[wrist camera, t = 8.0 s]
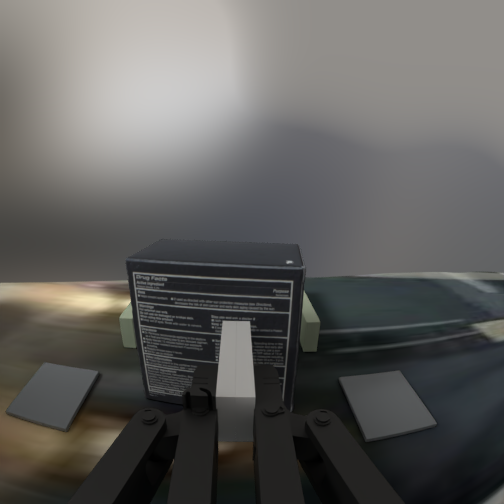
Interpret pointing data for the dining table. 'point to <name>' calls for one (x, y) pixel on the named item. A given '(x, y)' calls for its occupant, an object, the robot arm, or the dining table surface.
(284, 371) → the small box
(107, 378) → the dining table surface
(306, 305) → the track
